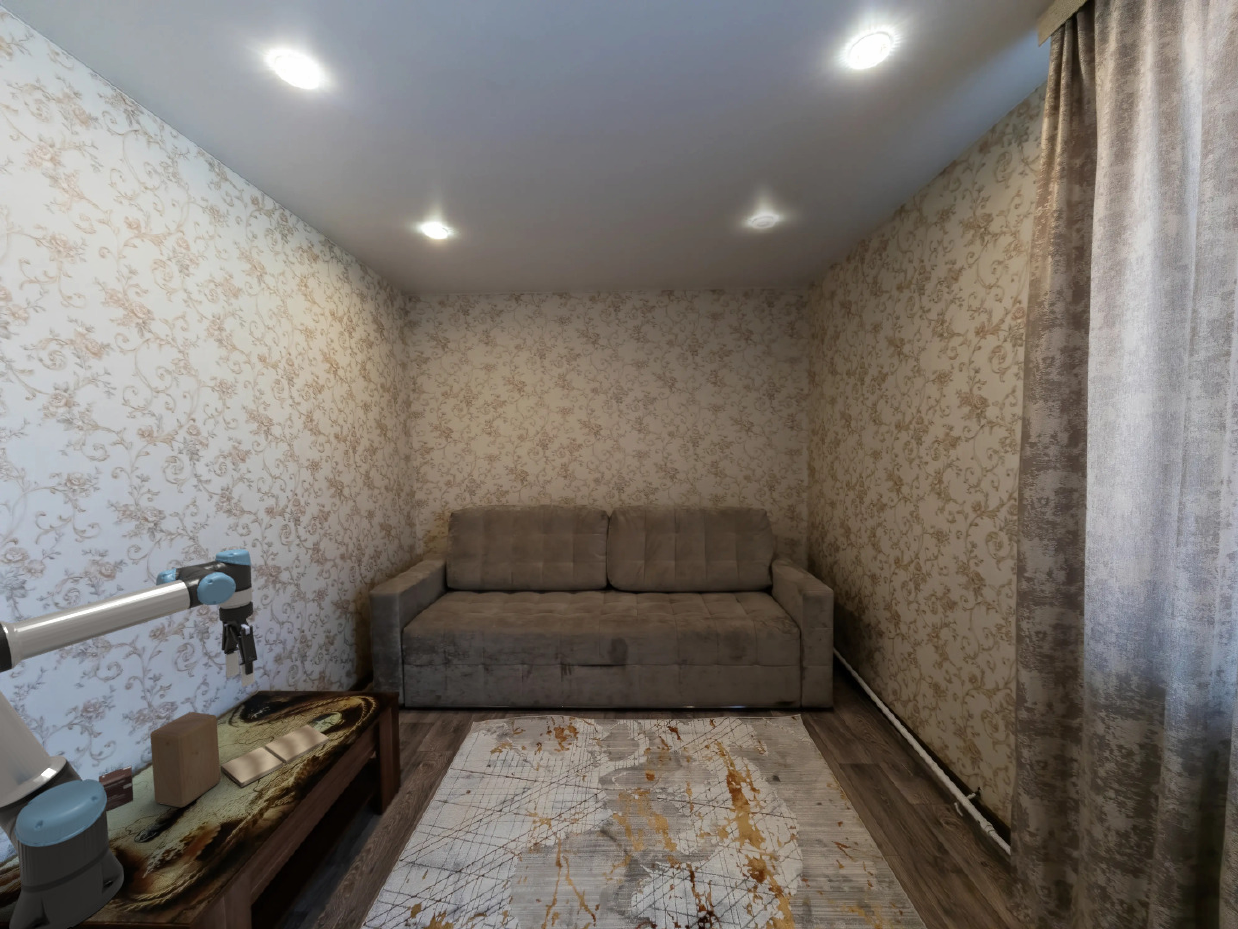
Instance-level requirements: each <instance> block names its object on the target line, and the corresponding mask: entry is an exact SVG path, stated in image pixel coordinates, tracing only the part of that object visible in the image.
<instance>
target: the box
mask: <svg viewBox="0 0 1238 929" xmlns="http://www.w3.org/2000/svg"><path fill="white" fill-rule="evenodd" d="M132 767H133V766H132V765H128V766H125V767H122V768H118V769H116V770H113V771H111V772H108V773H106V774H103V775H99V777H98V781H99V782H100V783H101V784H102V785H103V787H104V790H105V792H106V796H107V803H106V811H107V812H108V811H111V810H114V809H116V808H119V807H122V806H123V805H125V804H128V803H131V802H133V801H134V784H133V782H134V781H133V769H132Z"/></svg>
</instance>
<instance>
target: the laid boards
mask: <svg viewBox="0 0 1238 929" xmlns="http://www.w3.org/2000/svg"><path fill="white" fill-rule="evenodd" d="M329 742H330V738H329V737H328V736H327V735H325V734H324V733H322V732H321V731H318V730H317V729H315V728H314V727H313V726H311V725H309V724H305V725H303V726H301V727H298V728H296V729H295V730H292V731H291V732H288V733H287V734H284V735H283V736H281V737H279V738H276V739H274V740H273V741H270V742H268V743H267V744H265V745H264V749H265V750H267V751H268V752H269V753H271V754H272V755H273V756H275V757H276V758H277V759H279V760H280V761H281V762H283V763H284V764H285V765H289V764H290V763H292V762H294V761H296V760H298V759H300V758H301V757H303V756H305V755H307V754H309V753H311V752H312V751H315V750H316V749H318V748H320V747H321V746H324V745H325V744H327V743H329Z"/></svg>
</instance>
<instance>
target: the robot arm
mask: <svg viewBox="0 0 1238 929" xmlns="http://www.w3.org/2000/svg"><path fill="white" fill-rule="evenodd" d="M251 561H252V560H251V554H250V552H249V550H247V549H243V548H235V549H228V550H224V551H220V552H217V553H216V555H215V558H214V560H212V561H210V562H204V563H199V564H198V563H197V564H194V565H187V566H182V567H174V568H172V569H168V570H164V571H161V572H159V573H158V575H157V577H156V582H155V585H153V586H150V587H147V588H143V589H138V590H134V591H131V592H127V593H123V594H119V595H116V596H111V597H108V598H103V599H100V600H96V601H91V602H88V603H85V604H80V605H76V606H72V607H69V608H66V609H62V610H61V609H60V610H58V611H53V612H50V613H46V614H43V615H39V616H38V615H37V616H34V617H30V618H28V619H24V620H19V621H16V622H8V621H4V620H3V621H2V620H0V674H2V673H3V672H8V671H10V670H14V669H15V668H16V667H17V666H18V665H19V664H20V663H21V662H22V661H24V660H28V659H31V658H34V657H37V656H40V655H41V656H42V655H45V654H47V653H51V652H54V651H58V650H60V649H63V648H67V647H70V646H73V645H77V644H80V643H83V642H86V641H90V640H92V639H95V638H99V637H102V636H106V635H110V634H112V633H115V632H118V631H122V630H126V629H129V628H132V627H135V626H138V625H141V624H145V623H147V622H152V621H154V620H157V619H161V618H164V617H167V616H171V615H174V614H177V613H179V612H184V611H186V610H191V609H194V608H196V607H197V608H198V607H201V606H203V605H206V606H218V607H219V608H218V616H219V621H221V623H222V633H221V634H222V636H221V651H223V653H224V655H225V672H226V677H227V678H231V677H233V676H236V675H238V674H241V687H243V688H244V687H247V686H249V685H253V684H255V683H256V680H255V679H256V678H255V664H254V663H255V662H256V661H258V655H257V649H256V642H255V636H254V626H253V624H251V625H250V624H249V622H248V620H247V619H248V618H249V617H251V616H253V614H254V603H253V601H252V600H253V592H254V591H255V590H254V588H253V584H252V562H251ZM238 651H239V653H238ZM239 655H240V659H241V662H240V663H239ZM239 666H240V667H239ZM240 671H241V672H240ZM34 734H35V733H33V731H32V730H31V729H30V728H29V727H28V725H27V724H26V722H25V721H24V719H23V718H22V717H21V716H20V715H19V713H18V712H17V710H15V708H14V707H13V705H12V704H11V703H10V701H9V700H8V699H7V697H6V696H5V695H4V694H3V692H2V691H1V690H0V828H1V830H3V832H4V833H5V834H6V836H7V838H8V839H9V841H10V843H11V845H12V846H13V848H14V850H15V852H16V854H17V857H18V866H19V867H18V868H19V876H20V877H19V879H20V886H21V888H20V889H21V891H20V894H19V897H18V899H17V902H16V905H15V907H14V910H13V913H12V916H11V918H10V921H9V929H67V928H69V927H72V928H74V927H76V926H77V925H79V924H80V923H82V922H84V921H85V920H87V919H88V918H90V917H92V915H95V913H97V912H98V911H99V910H101V909H102V908H103V907H104V906H106V905H107V904H108V903H109V902H110V901H111V900H112V899H113V897H115V896H116V895H117V893H118V892H119V891H120V889H121V888H122V885H123V883H124V880H125V878H124V877H125V876H124V867H123V865H122V863H120V861H119V860H118V858H117V857H116V855H115V854H114V853H113V851H112V850H111V849H110V843H109V828H108V826H109V825H108V815H107V813H108V811H106V803H107V796H106V792H105V790H104V787H103V785H102V784H101V783H100V782H99V780H96V779H93V778H92V779H89V778H87V779H85V780H83V779H82V777H81V776H80V774H79V773H78V771H76V770H75V769H74V767H73V766H72V764H71V763H70V762H69V761H68V759H67V757H65V756H64V755H50V754H49V753H48V751H47V750H46V749H45V748H44V746H43V745H42V744H41V743H40V741H39V740H38V738H37V737H36V736H35V735H34Z"/></svg>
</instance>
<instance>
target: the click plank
mask: <svg viewBox="0 0 1238 929" xmlns="http://www.w3.org/2000/svg"><path fill="white" fill-rule="evenodd" d="M283 763H284V762H283V761H281V760H280V759H279V758H277V757H276V756H274V755H273V754H272V753H270V752H269V751H268V750H266V749H265V747H263V746H260V747H259V748H256V749H253V750H251V751H250V752H247V753H245V754H243V755H241V756H238V757H236V758H234V759H231V760H229V761H227V762H225V763H223V764H222V763H221V765H220V771H222V772H224V773H225V774H226V775H227V776H228V777H230V779H232V780H233V781H234V782H235V783H236V784H237V785H238V786H240V787H241V788H243V787H245V786H247V785H249V784H251V783H254V782H255V781H257V780H259V779H261V778H263V777H265V776H267V775H269V774H271V773H272V772H274V771H277V770H280V769H281V768H283V766H284V764H283Z"/></svg>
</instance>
